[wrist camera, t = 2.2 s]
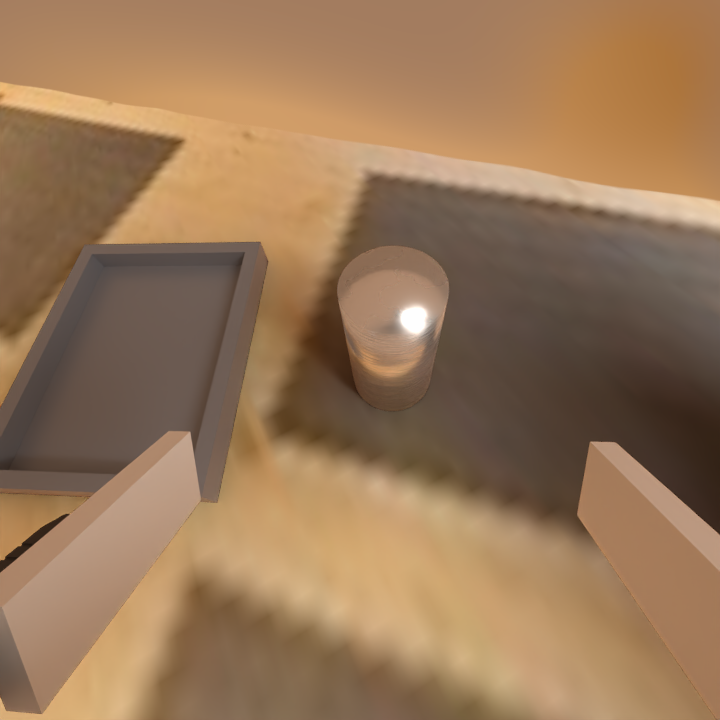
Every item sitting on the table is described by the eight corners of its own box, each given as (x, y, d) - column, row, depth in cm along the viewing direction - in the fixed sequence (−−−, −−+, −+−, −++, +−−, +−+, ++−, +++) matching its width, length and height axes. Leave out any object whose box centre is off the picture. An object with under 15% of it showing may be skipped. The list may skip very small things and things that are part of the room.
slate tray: (268, 261, 37) (260, 242, 35) (217, 502, 27) (201, 497, 24) (102, 263, 38) (84, 244, 36) (-7, 492, 28) (-41, 486, 26)
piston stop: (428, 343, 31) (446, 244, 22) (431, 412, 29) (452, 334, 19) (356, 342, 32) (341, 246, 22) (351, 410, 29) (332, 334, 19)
